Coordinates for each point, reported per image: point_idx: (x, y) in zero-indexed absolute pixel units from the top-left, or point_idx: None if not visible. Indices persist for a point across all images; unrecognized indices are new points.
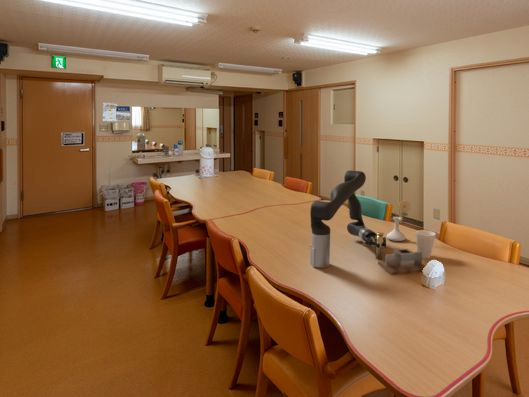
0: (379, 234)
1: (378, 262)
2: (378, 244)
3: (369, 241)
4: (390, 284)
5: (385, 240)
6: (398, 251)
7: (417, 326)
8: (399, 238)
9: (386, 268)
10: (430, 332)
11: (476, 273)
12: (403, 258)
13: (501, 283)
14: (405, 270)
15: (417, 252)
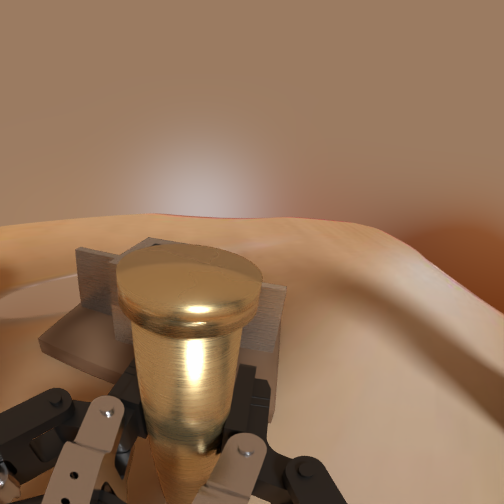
0: (240, 262)
1: (273, 409)
2: (256, 366)
3: (328, 476)
4: (318, 294)
5: (64, 390)
6: None
7: (333, 239)
8: None
9: (279, 340)
10: (322, 233)
11: (41, 247)
12: None
13: (69, 228)
14: None
15: (98, 252)
